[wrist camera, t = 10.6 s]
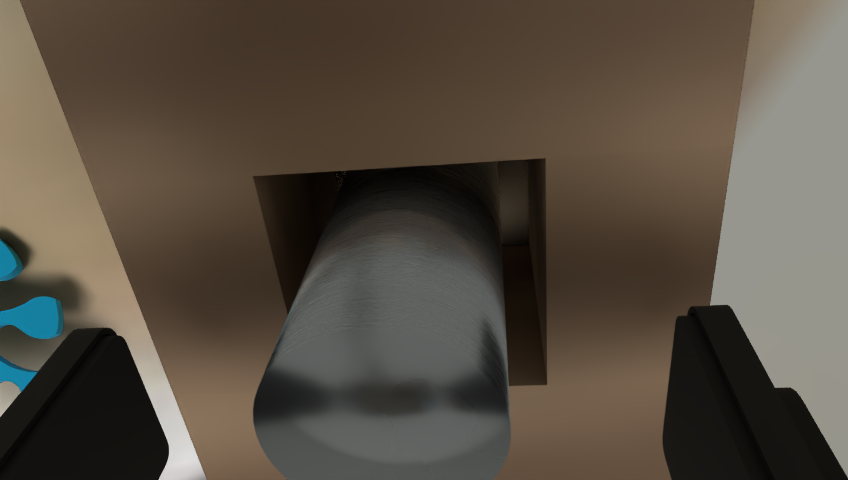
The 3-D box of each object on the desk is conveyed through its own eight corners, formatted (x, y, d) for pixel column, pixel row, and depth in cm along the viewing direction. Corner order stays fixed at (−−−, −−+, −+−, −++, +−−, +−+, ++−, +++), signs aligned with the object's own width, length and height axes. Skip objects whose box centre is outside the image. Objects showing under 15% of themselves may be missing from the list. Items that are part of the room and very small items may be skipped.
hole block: (127, -182, 15) (-56, -193, 10) (678, -252, 14) (799, -306, 9) (288, 404, 24) (237, 556, 19) (629, 396, 23) (672, 558, 18)
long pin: (346, 103, 18) (224, 335, 10) (494, 92, 18) (505, 325, 9) (367, 231, 20) (281, 517, 12) (500, 224, 20) (515, 517, 11)
